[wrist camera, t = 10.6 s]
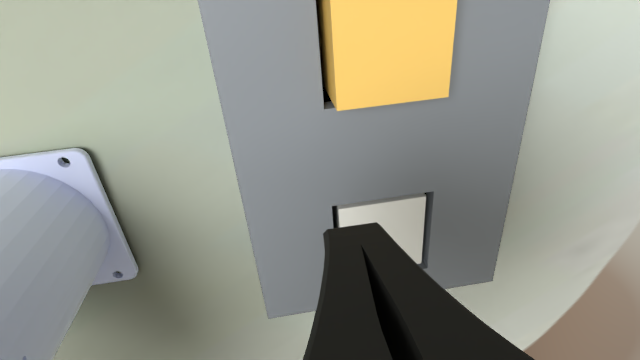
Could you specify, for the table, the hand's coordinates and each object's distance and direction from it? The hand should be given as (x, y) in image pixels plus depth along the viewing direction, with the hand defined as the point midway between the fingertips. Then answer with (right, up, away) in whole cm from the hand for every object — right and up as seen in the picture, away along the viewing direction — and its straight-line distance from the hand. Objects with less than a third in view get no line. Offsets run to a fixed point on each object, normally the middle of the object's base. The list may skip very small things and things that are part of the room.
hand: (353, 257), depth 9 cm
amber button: (+1, +8, +6) cm, 10 cm away
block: (+2, +1, +11) cm, 12 cm away
